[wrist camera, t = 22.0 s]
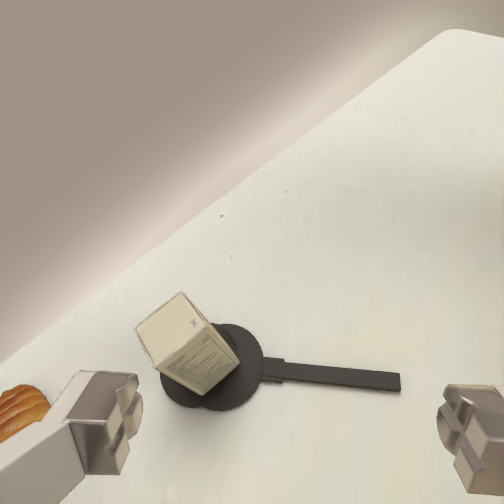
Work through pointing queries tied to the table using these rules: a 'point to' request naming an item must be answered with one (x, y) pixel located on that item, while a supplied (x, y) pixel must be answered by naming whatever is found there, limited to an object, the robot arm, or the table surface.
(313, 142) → the table surface
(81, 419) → the robot arm
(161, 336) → the medicine box
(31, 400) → the pastry
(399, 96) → the table surface
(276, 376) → the black frying pan
